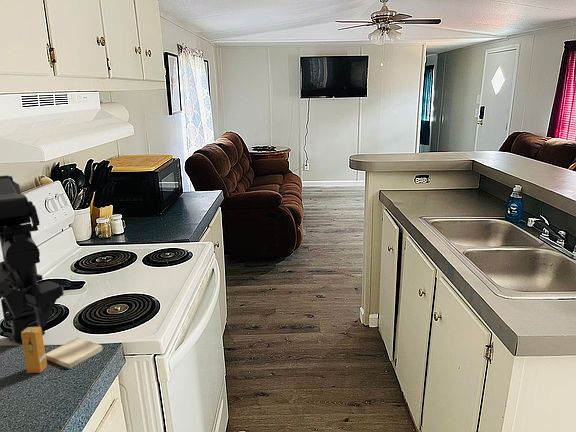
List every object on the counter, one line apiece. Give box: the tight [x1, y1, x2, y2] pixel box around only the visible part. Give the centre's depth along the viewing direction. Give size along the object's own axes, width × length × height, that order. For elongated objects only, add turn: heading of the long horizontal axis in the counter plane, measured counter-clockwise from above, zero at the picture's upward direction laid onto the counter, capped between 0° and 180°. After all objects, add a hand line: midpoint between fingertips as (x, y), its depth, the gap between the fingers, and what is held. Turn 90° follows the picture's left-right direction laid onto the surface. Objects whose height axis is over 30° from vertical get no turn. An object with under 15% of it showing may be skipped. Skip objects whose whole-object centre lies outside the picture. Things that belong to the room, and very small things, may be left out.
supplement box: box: [21, 326, 48, 374], centre depth 100 cm, size 3×3×10 cm
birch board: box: [45, 336, 104, 369], centre depth 107 cm, size 9×9×1 cm
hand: (30, 322), depth 99 cm, fingers open, 9 cm apart
